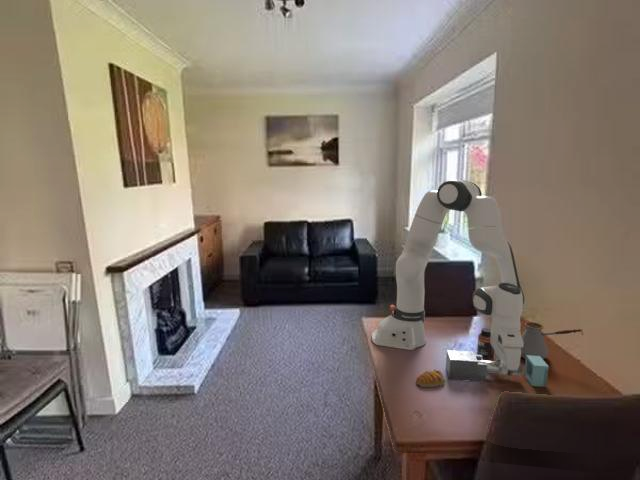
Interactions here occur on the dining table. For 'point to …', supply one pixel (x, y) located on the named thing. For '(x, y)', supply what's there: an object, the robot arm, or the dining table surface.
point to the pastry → (430, 379)
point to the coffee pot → (537, 340)
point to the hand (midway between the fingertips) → (501, 369)
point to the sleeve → (465, 366)
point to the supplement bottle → (485, 344)
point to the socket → (536, 370)
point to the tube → (499, 367)
